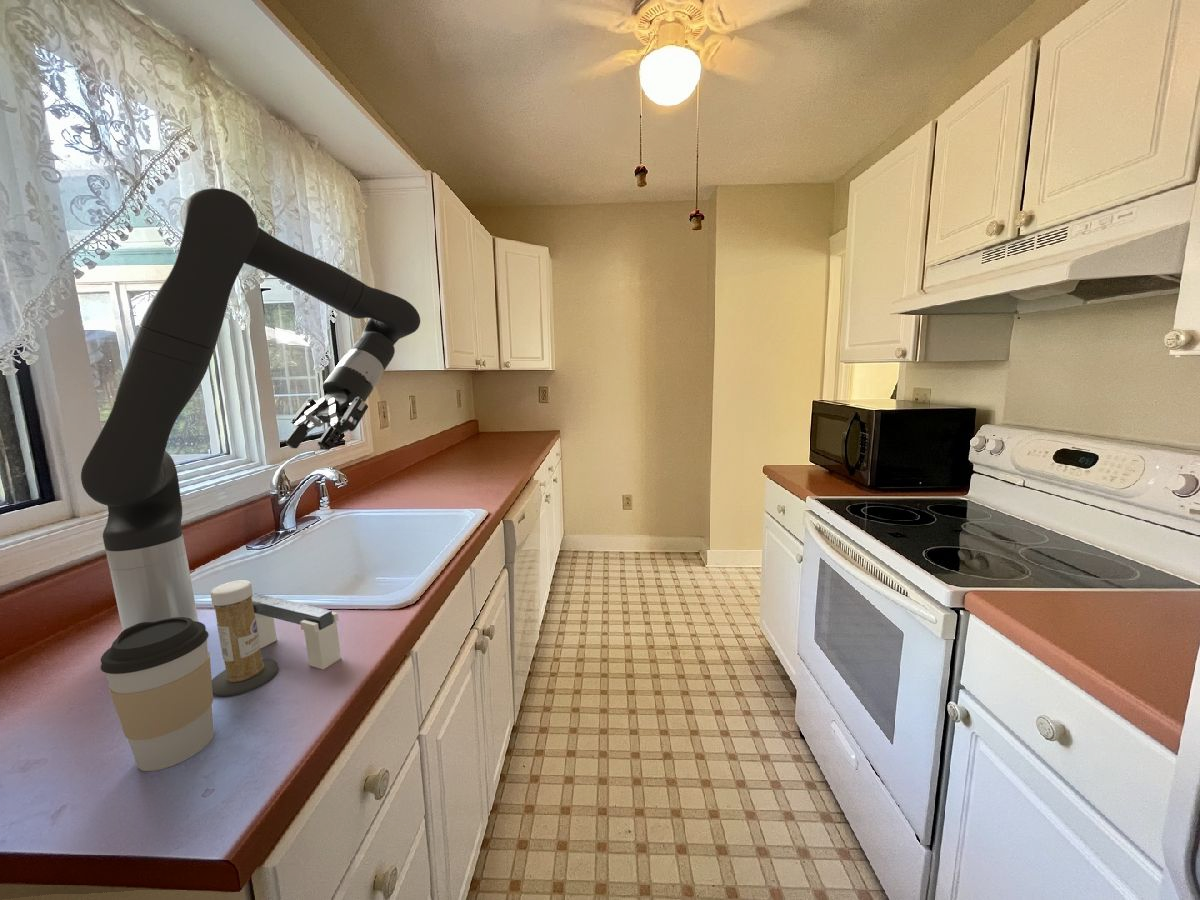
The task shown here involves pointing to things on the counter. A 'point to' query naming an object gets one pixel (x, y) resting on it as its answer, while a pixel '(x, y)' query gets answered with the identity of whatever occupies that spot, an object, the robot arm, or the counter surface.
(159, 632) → the coffee cup
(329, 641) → the hurdle posts
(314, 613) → the crossbar
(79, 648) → the counter surface
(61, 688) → the counter surface
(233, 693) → the rubber mat
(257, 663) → the sprinkles bottle
